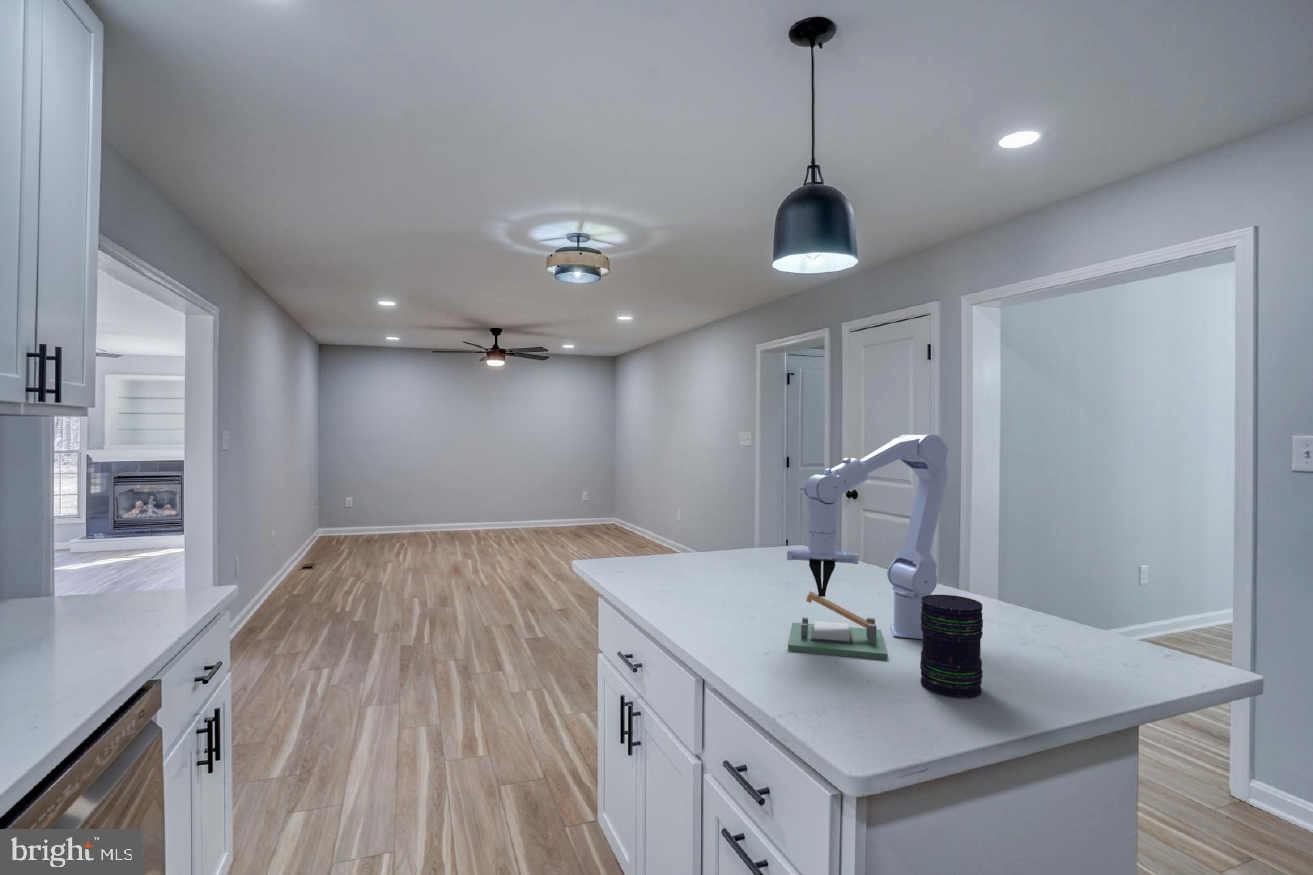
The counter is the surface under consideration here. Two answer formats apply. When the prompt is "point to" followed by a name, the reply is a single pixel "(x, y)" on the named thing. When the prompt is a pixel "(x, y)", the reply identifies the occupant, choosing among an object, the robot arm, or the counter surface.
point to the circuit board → (839, 648)
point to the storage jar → (951, 646)
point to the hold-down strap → (837, 609)
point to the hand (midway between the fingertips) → (821, 595)
